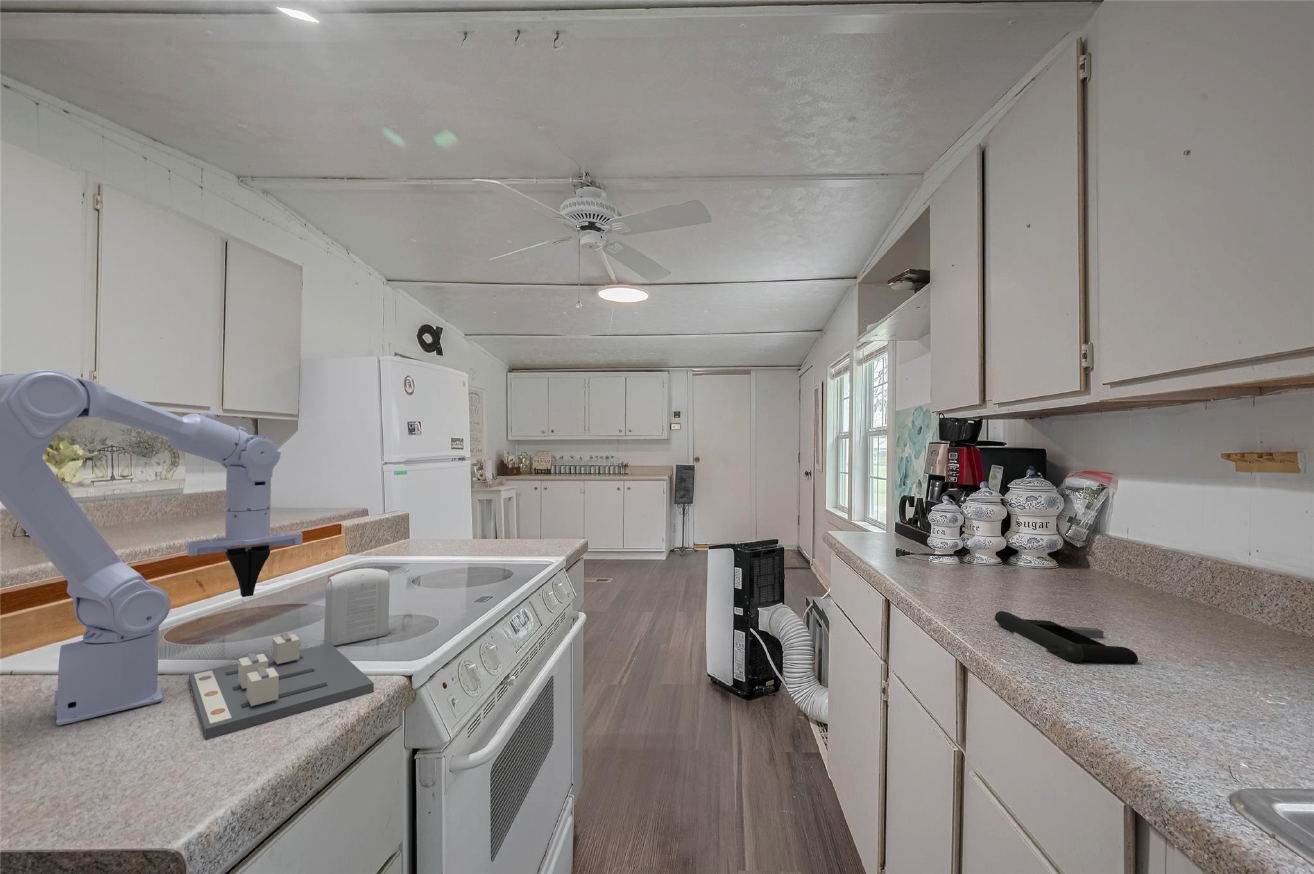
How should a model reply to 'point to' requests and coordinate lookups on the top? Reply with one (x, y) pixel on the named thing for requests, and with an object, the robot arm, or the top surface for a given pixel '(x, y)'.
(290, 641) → the far tab
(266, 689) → the near tab
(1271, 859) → the top surface
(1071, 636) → the door handle
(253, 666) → the middle tab
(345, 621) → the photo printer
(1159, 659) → the top surface
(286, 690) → the switch board
